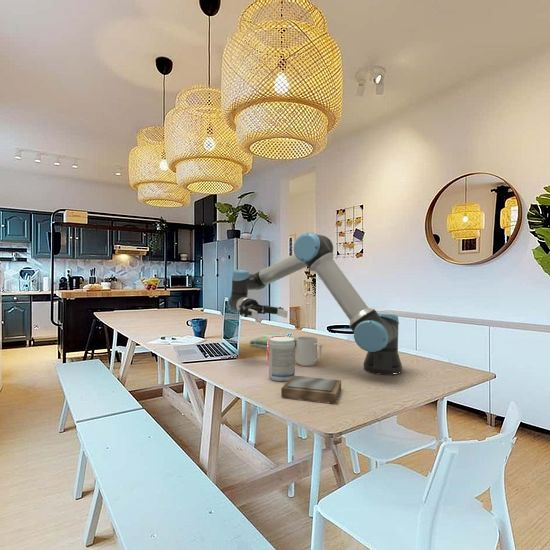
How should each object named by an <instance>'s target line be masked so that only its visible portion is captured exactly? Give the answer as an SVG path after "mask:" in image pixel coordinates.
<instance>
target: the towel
mask: <svg viewBox="0 0 550 550" xmlns="http://www.w3.org/2000/svg"><path fill="white" fill-rule="evenodd" d="M272 336H285V334H284V335H283V334H280V333H274V332H271V333H267V334H265V335H261V336H259V337H256V338H253V339H251V340H250V341H249V344H250V346H251V347H257V348H263V349H268V348H267V341H268V338H270V337H272ZM289 337H290V338H293V339H294V342H295V347H296V341H297V337H293V336H289Z"/></svg>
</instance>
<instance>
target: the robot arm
mask: <svg viewBox="0 0 550 550" xmlns="http://www.w3.org/2000/svg"><path fill="white" fill-rule="evenodd" d="M333 252H334V245H333V242H332V240H331V239H330V238H329V237H327V236H325V235H321V234H317V233H314V232H305V233H302V234H300V235H299V236H298V237H297V238H296V240H295V242H294V244H293V254H292V255H290V256H288V257H286V258H284V259H282V260H280V261H278V262H276V263H273V264H271V265H269V266H268V267H266V268H264V269H263V268H262V269H261V270H260V271H257V272H255V273H250V271H248V270H245V269H244V270H243V269H234V270H232V271H233V272H232V278H231V293H230V296H229V297H228V299H227V302H226V303H227V307H228V308H229V309H230V310H232V311H234V312H237V313H239V315H240V316H244V318H248V317H250V318H253V319H258V315H259V314H260V315H261V314H262V315H265V314H272V315H276V316H279V317H282V318H285V319H287V318H288V310H285V309H284V307H283V308H282V306H279V307H277V306H271V305H262V304H259V302H258V301H257V300H256V299H253V298H250V297H248V294H249V291H251V290H252V291H254V290H257V291H258V290H262V289H264V288H265V287H266V286H268V285H270V284H272V283H274V282H276V281H279V280H280V279H284V278H285V277H287V276H289V275H291V274H294V273H296V272H298V271H300V270H303V269H305V268H308V269H309V271H310V272H315V273H316V274H317V276H318V277H319V279H320V280H321V281H322V283H323V285H324V286H325V288H326V289H327V290H328V291H329V293H330V294H331V296H332V297H333V299H334V300H335V301H336V303H337V304H338V306H339V307H340V308H341V310H342V311H343V313H344V314H345V315H346V317H347V318H348V320H349V328H350V330H351V331H352V332H353V338H354V342H355V343H356V345H357V346H358V347H359V348H360V349H361V350H363V351H365V352H366V355H365V358H364V360H363V370H364V369H365V370H364V371H366V372H368V371H369V373H372V372H373V373H372V374H376V373H380V374H379V375H385V374H393V373H399V372H401V371H402V372H403V364H402V361H401V359H400V358H401V357H400V355H399V351H398V350H399V324H400V321H399V316H398V315H396V314H391V313H380V312H379V313H378V312H377V310H376V309H375V308H372V307H371V308H370V307H369V306H368V305H367V303H366V302H365V300H363V298H362V297H361V296H360V294H359V293H358V291H357V290H356V289H355V287H354V286H353V285H352V283H351V282H350V280H349V279H348V278H347V277H346V275H345V273H343V271H342V270H341V268H340V267H339V265H338V264H337V262H336V261H335V260H334V256H335V254H334V253H333ZM402 372H401V373H402ZM399 374H400V373H399ZM393 375H394V374H393Z"/></svg>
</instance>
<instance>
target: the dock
mask: <svg viewBox="0 0 550 550" xmlns="http://www.w3.org/2000/svg"><path fill="white" fill-rule="evenodd" d="M280 390H281V392H280V393H281V395H280V398H281V397H283V399H288V398H290V399H289V400H297V399H301V400H300V401H306V400H309V401H308V402H314V401H320V402H319V403H323V402H329V403H328V404H331V403H336V404H337V402H336V401H338V399H339V396H340V394H341V391H342V380H341V379H333V378H322V377H313V376H312V377H310V376H301V375H295V376H292V377H291V378H290V379H289V380H288V381H285V383H284V384H283V386H282V387H281V389H280ZM340 390H341V391H340ZM338 395H339V396H338ZM337 398H338V399H337Z"/></svg>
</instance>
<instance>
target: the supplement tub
mask: <svg viewBox="0 0 550 550" xmlns="http://www.w3.org/2000/svg"><path fill="white" fill-rule="evenodd" d="M290 337H291V336H288V337H273V338H270V342H269V349H268V377H269V379H270V380H272V381H276V382H287V381H288V380H289V379H290V378H291V377H292V376H296V375H295V373H296V372H295V369H296V367H295V366H296V364H295V363H296V356H295V355H296V353H295V352H296V346H295V342H294V339H293V338H290Z"/></svg>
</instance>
